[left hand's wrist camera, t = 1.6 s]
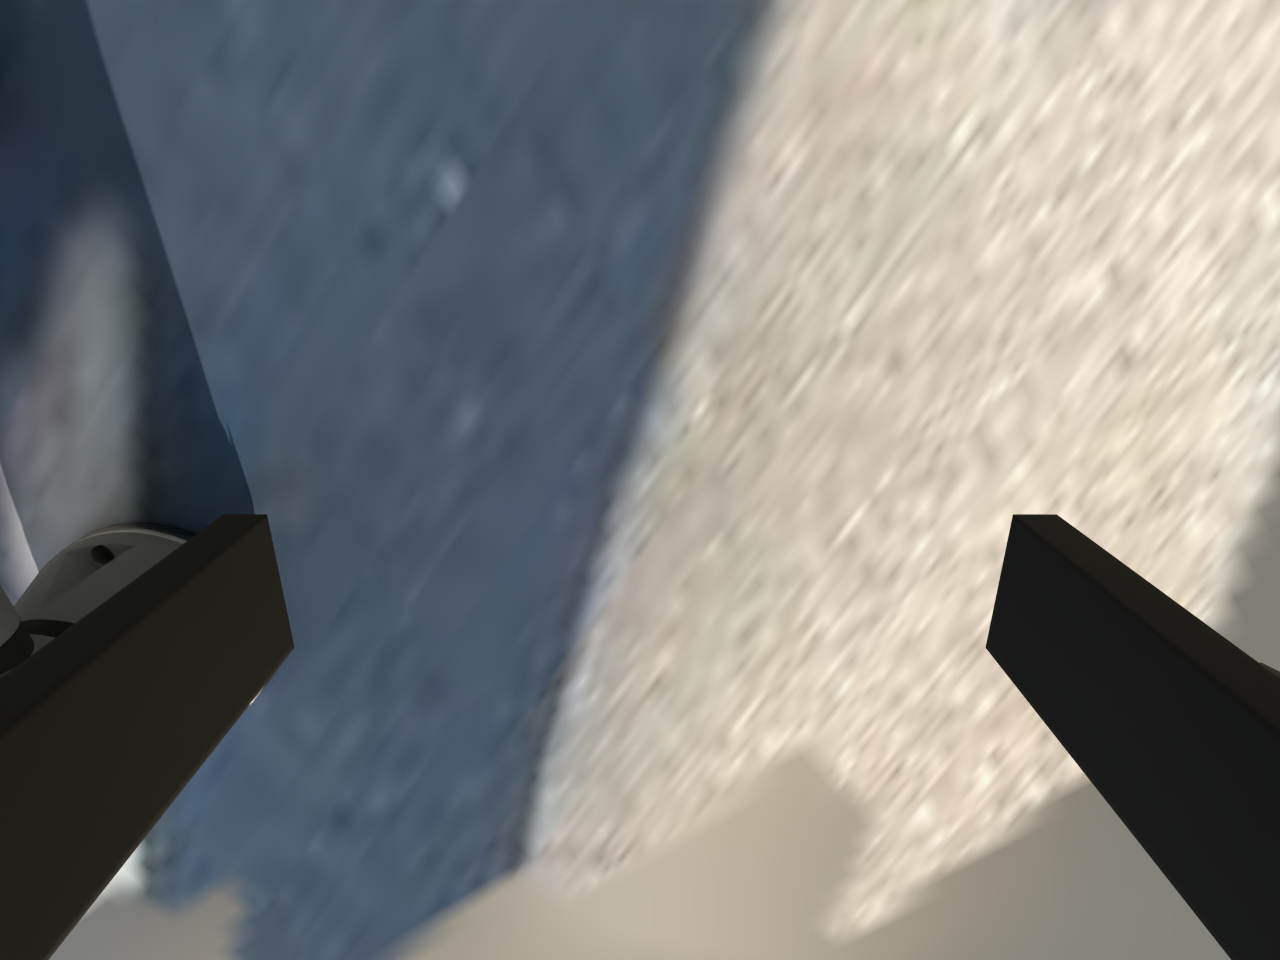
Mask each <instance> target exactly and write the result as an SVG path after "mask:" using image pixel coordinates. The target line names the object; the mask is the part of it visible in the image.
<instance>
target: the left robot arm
mask: <svg viewBox="0 0 1280 960" xmlns="http://www.w3.org/2000/svg"><path fill="white" fill-rule="evenodd" d="M293 649H294V644H293V639H292V634H291V629H290V624H289V619H288V615H287V610H286V605H285V600H284V595H283V590H282V585H281V581H280V576H279V571H278V566H277V561H276V556H275V551H274V547H273V542H272V537H271V532H270V527H269V522H268V518H267V515H222V516H221V517H219V518H218V519H217V520H215V521H214V522H213V523H211V524H210V525H208V526H207V527H206V528H204V529H203V530H202V531H200V532H199V533H198V534H196V535H194V534H191V533H188V532H186V531H183V530H180V529H176V528H173V527H168V526H163V525H157V524H148V523H128V524H120V525H113V526H110V527H106V528H102V529H100V530H97V531H95V532H92V533H90V534H88V535H87V536H85V537H83V538H81V539H79V540H78V541H76V542H74V543H73V544H71V545H69V546H68V547H66V548H65V549H64V550H62V551H61V552H60V553H59V554H58V555H56V556H55V557H54V558H53V559H52V560H51V561H49V562H48V563H47V564H46V565H45V566H44V567H43V568H42V570H41V571H40V572H39V573H38V575H37V576H36V577H35V579H34V580H33V581H32V583H31V584H30V585H29V587H28V588H27V589H26V591H25V592H24V593H23V595H22V596H21V598H20V599H19V600H18V602H17V603H16V604H15V606H14V607H13V605H12V604H11V602H10V600H9V599H8V597H7V595H6V594H5V592H4V590H3V589H2V587H1V585H0V960H49V959H50V957H51V956H52V955H53V953H54V952H55V951H56V950H57V948H58V947H59V946H60V945H61V943H62V942H63V941H64V939H65V938H66V937H67V936H68V934H69V933H70V932H71V931H72V929H73V928H74V927H75V926H76V924H77V923H78V922H79V920H80V919H81V918H82V917H83V915H84V914H85V913H86V912H87V910H88V909H89V908H90V906H91V905H92V904H93V903H94V901H95V900H96V899H97V898H98V896H99V895H100V894H101V892H102V891H103V890H104V889H105V887H106V886H107V885H108V884H109V882H110V881H111V880H112V879H113V877H114V876H115V875H116V873H117V872H118V871H119V870H120V868H121V867H122V866H123V865H124V863H125V862H126V861H127V859H128V858H129V857H130V856H131V854H132V853H133V852H134V851H135V849H136V848H137V847H138V846H139V844H140V843H141V842H142V840H143V839H144V838H145V837H146V835H147V834H148V833H149V832H150V830H151V829H152V828H153V826H154V825H155V824H156V823H157V821H158V820H159V819H160V818H161V816H162V815H163V814H164V812H165V811H166V810H167V809H168V807H169V806H170V805H171V804H172V802H173V801H174V800H175V799H176V797H177V796H178V795H179V793H180V792H181V791H182V790H183V788H184V787H185V786H186V785H187V783H188V782H189V781H190V779H191V778H192V777H193V776H194V774H195V773H196V772H197V771H198V769H199V768H200V767H201V765H202V764H203V763H204V762H205V760H206V759H207V758H208V757H209V755H210V754H211V753H212V752H213V750H214V749H215V748H216V746H217V745H218V744H219V743H220V741H221V740H222V739H223V738H224V736H225V735H226V734H227V732H228V731H229V730H230V729H231V727H232V726H233V725H234V724H235V722H236V721H237V720H238V719H239V717H240V716H241V715H242V713H243V712H244V711H245V710H246V708H247V707H248V706H249V705H250V704H251V703H252V702H253V701H254V700H255V699H256V697H257V696H258V695H259V694H260V692H261V691H262V690H263V689H264V687H265V686H266V685H267V684H268V682H269V681H270V679H271V677H272V676H273V674H274V673H275V672H276V670H277V669H278V668H279V666H280V665H281V664H282V663H283V661H284V660H285V659H286V658H287V656H288V655H289V654H290V652H291V651H292V650H293ZM986 649H987V650H988V651H989V652H990V654H991V655H992V656H993V658H994V659H995V660H996V661H997V663H998V664H999V665H1000V666H1001V668H1002V669H1003V670H1004V672H1005V673H1006V674H1007V675H1008V677H1009V678H1010V679H1011V680H1012V682H1013V683H1014V684H1015V685H1016V687H1017V688H1018V689H1019V691H1020V692H1021V693H1022V694H1023V696H1024V697H1025V698H1026V699H1027V701H1028V702H1029V703H1030V705H1031V706H1032V707H1033V708H1034V710H1035V711H1036V712H1037V713H1038V715H1039V716H1040V717H1041V719H1042V720H1043V721H1044V722H1045V724H1046V725H1047V726H1048V727H1049V729H1050V730H1051V731H1052V732H1053V734H1054V735H1055V736H1056V738H1057V739H1058V740H1059V741H1060V743H1061V744H1062V745H1063V746H1064V748H1065V749H1066V750H1067V752H1068V753H1069V754H1070V755H1071V757H1072V758H1073V759H1074V760H1075V762H1076V763H1077V764H1078V765H1079V767H1080V768H1081V769H1082V771H1083V772H1084V773H1085V774H1086V776H1087V777H1088V778H1089V779H1090V781H1091V782H1092V783H1093V785H1094V786H1095V787H1096V788H1097V790H1098V791H1099V792H1100V793H1101V795H1102V796H1103V797H1104V799H1105V800H1106V801H1107V802H1108V804H1109V805H1110V806H1111V807H1112V809H1113V810H1114V811H1115V812H1116V814H1117V815H1118V816H1119V818H1120V819H1121V820H1122V821H1123V823H1124V824H1125V825H1126V826H1127V828H1128V829H1129V830H1130V832H1131V833H1132V834H1133V835H1134V837H1135V838H1136V839H1137V840H1138V842H1139V843H1140V844H1141V845H1142V847H1143V848H1144V849H1145V851H1146V852H1147V853H1148V854H1149V856H1150V857H1151V858H1152V859H1153V861H1154V862H1155V863H1156V864H1157V866H1158V867H1159V868H1160V870H1161V871H1162V872H1163V873H1164V875H1165V876H1166V877H1167V879H1168V880H1169V881H1170V882H1171V884H1172V885H1173V886H1174V887H1175V889H1176V890H1177V891H1178V892H1179V894H1180V895H1181V896H1182V898H1183V899H1184V900H1185V901H1186V903H1187V904H1188V905H1189V906H1190V908H1191V909H1192V910H1193V911H1194V913H1195V914H1196V915H1197V917H1198V918H1199V919H1200V920H1201V922H1202V923H1203V924H1204V926H1205V927H1206V928H1207V929H1208V931H1209V932H1210V933H1211V934H1212V936H1213V937H1214V938H1215V939H1216V941H1217V942H1218V943H1219V945H1220V946H1221V947H1222V948H1223V950H1224V951H1225V952H1226V953H1227V955H1228V956H1229V957H1230V958H1231V960H1280V672H1279V671H1277V670H1275V669H1273V668H1271V667H1269V666H1267V665H1265V664H1263V663H1258V662H1257V661H1255V660H1254V659H1253V658H1251V657H1250V656H1249V655H1247V654H1246V653H1244V652H1243V651H1242V650H1240V649H1239V648H1238V647H1236V646H1235V645H1234V644H1232V643H1231V642H1230V641H1228V640H1227V639H1225V638H1224V637H1223V636H1221V635H1220V634H1219V633H1217V632H1216V631H1215V630H1213V629H1212V628H1210V627H1209V626H1208V625H1206V624H1205V623H1204V622H1202V621H1201V620H1200V619H1198V618H1197V617H1195V616H1194V615H1193V614H1191V613H1190V612H1189V611H1187V610H1186V609H1185V608H1183V607H1182V606H1180V605H1179V604H1178V603H1176V602H1175V601H1174V600H1172V599H1171V598H1170V597H1168V596H1167V595H1165V594H1164V593H1163V592H1161V591H1160V590H1159V589H1157V588H1156V587H1155V586H1153V585H1152V584H1151V583H1149V582H1148V581H1146V580H1145V579H1144V578H1142V577H1141V576H1140V575H1138V574H1137V573H1136V572H1134V571H1133V570H1131V569H1130V568H1129V567H1127V566H1126V565H1125V564H1123V563H1122V562H1121V561H1119V560H1118V559H1116V558H1115V557H1114V556H1112V555H1111V554H1110V553H1108V552H1107V551H1106V550H1104V549H1103V548H1101V547H1100V546H1099V545H1097V544H1096V543H1095V542H1093V541H1092V540H1091V539H1089V538H1088V537H1087V536H1085V535H1084V534H1082V533H1081V532H1080V531H1078V530H1077V529H1076V528H1074V527H1073V526H1072V525H1070V524H1069V523H1067V522H1066V521H1065V520H1063V519H1062V518H1061V517H1059V516H1058V515H1013V518H1012V522H1011V527H1010V532H1009V537H1008V542H1007V547H1006V551H1005V556H1004V561H1003V566H1002V571H1001V576H1000V581H999V585H998V590H997V595H996V600H995V605H994V610H993V615H992V619H991V624H990V629H989V634H988V639H987V644H986Z"/></svg>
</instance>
